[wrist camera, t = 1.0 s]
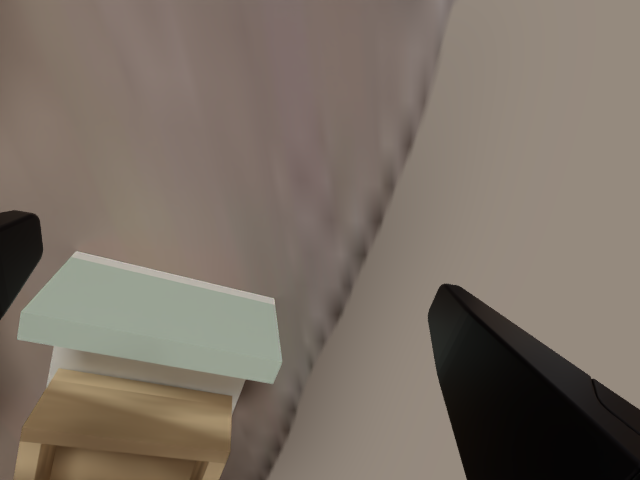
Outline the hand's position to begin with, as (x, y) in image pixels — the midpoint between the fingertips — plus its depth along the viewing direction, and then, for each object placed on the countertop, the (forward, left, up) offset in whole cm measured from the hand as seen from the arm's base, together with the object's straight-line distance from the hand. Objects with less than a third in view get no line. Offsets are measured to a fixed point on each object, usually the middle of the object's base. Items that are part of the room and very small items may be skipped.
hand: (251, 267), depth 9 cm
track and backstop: (-17, -8, -15) cm, 24 cm away
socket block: (-20, -10, -14) cm, 26 cm away
